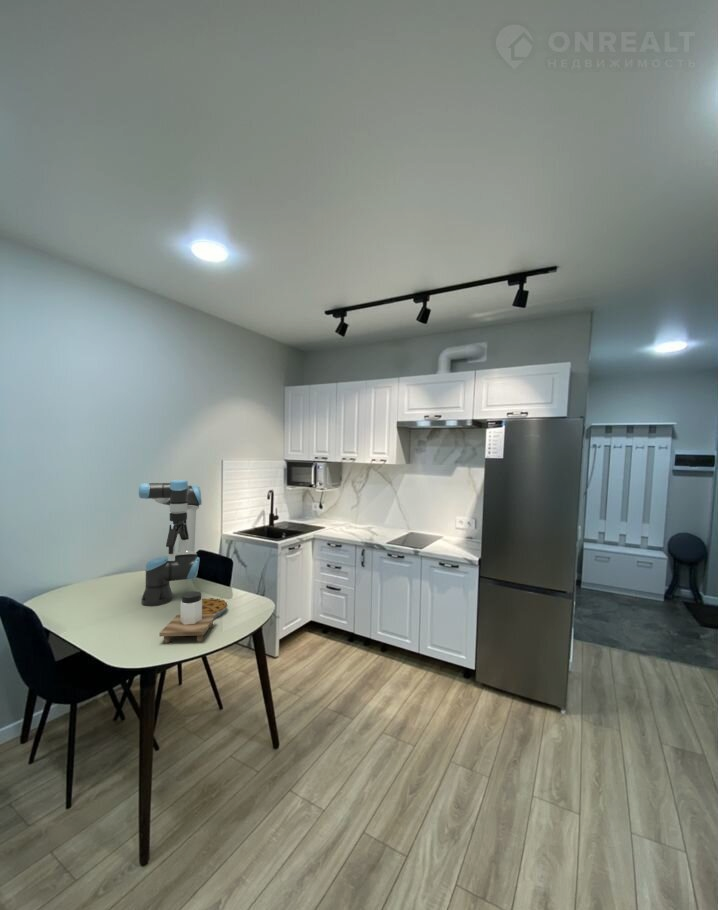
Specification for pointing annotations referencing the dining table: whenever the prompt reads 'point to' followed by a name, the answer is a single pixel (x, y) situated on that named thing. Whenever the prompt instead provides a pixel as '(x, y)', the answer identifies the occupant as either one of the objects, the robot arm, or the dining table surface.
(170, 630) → the wooden serving stand
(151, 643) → the dining table surface
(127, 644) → the dining table surface
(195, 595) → the jar
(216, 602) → the pie
